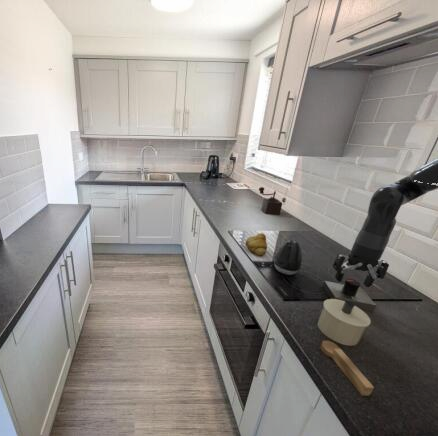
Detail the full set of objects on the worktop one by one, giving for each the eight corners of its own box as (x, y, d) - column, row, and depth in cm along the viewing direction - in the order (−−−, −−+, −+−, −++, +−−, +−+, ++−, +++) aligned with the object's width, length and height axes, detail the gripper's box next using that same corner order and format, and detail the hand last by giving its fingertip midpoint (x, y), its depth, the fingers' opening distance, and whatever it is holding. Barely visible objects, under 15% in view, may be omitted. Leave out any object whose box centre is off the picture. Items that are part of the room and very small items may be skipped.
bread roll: (268, 258, 111) (272, 243, 108) (247, 255, 113) (250, 240, 110) (262, 245, 123) (265, 232, 120) (243, 243, 125) (246, 230, 122)
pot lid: (357, 306, 72) (362, 295, 71) (378, 333, 62) (384, 322, 61) (317, 298, 75) (320, 288, 74) (331, 323, 65) (336, 312, 64)
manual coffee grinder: (274, 210, 179) (280, 187, 173) (279, 215, 169) (286, 191, 163) (253, 208, 181) (258, 186, 175) (257, 213, 171) (263, 189, 165)
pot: (348, 323, 75) (356, 305, 72) (365, 350, 65) (376, 330, 63) (312, 315, 77) (319, 297, 74) (324, 340, 68) (332, 321, 65)
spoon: (374, 396, 54) (380, 387, 53) (356, 395, 54) (361, 387, 53) (331, 344, 67) (335, 337, 66) (316, 344, 67) (319, 336, 66)
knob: (352, 289, 86) (357, 279, 84) (357, 296, 82) (363, 285, 80) (339, 287, 87) (344, 276, 85) (344, 294, 83) (349, 283, 81)
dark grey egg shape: (267, 270, 101) (275, 239, 96) (277, 262, 108) (285, 233, 102) (292, 281, 94) (303, 249, 89) (301, 272, 101) (311, 241, 95)
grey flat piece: (357, 293, 89) (360, 286, 87) (373, 312, 80) (376, 304, 78) (322, 286, 92) (324, 280, 91) (332, 303, 83) (335, 296, 82)
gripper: (350, 244, 75) (333, 285, 81) (404, 252, 72) (382, 294, 78) (340, 235, 82) (325, 273, 88) (388, 242, 79) (369, 281, 85)
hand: (352, 283), depth 83 cm, fingers open, 8 cm apart
